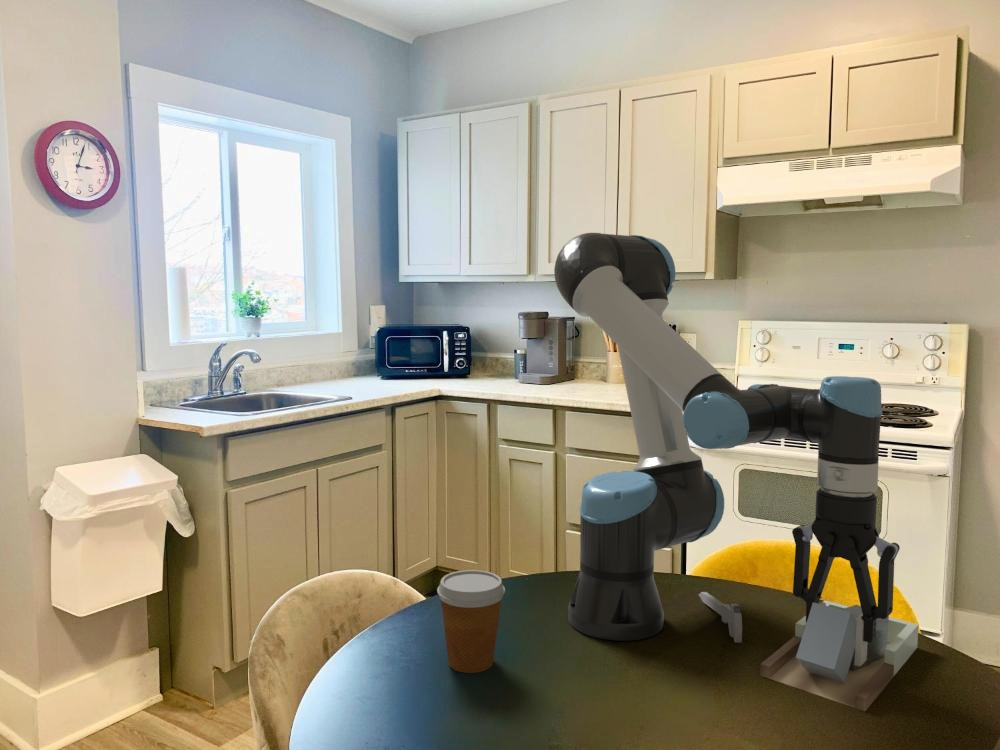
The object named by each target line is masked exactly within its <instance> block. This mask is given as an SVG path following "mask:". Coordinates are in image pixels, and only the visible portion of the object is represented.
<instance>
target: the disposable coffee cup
mask: <svg viewBox="0 0 1000 750" xmlns="http://www.w3.org/2000/svg"><path fill="white" fill-rule="evenodd" d="M436 591H437V592H436V593H437V595H438V598H439V599H440V603H441V605H440V606H441V612H442V618H443V619H442V621H443V628H444V636H445V642H446V651H447V658H448V659H447V661H448V665H449V667H450V668H451V669H453V671H457V672H460V673H464V674H465V673H466V674H475V673H477V674H478V673H482V672H484V671H487V670H490V668H491V667H492V666H493V664H494V656H495V651H496V649H495V648H496V643H497V642H496V641H497V636H498V635H497V633H498V628H499V620H500V612H501V605H502V604H501V603H502V598H503V597H504V594H505V592H506V588H505V586H504V585H503V581H502V578H501V577H500V576H499V575H498V574H495V573H493V572H489V571H485V570H479V569H478V570H477V569H467V570H466V569H465V570H457V571H453V572H450V573H448V574H445V575H444V576H443V577H442V578H441V579H440V582H439V585H438V587H437V588H436Z"/></svg>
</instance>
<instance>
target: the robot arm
mask: <svg viewBox="0 0 1000 750" xmlns="http://www.w3.org/2000/svg"><path fill="white" fill-rule="evenodd" d="M553 270H554V271H553V272H554V281H555V285H556V287H557V289H558V291H559V293H560V295H561V296H562V298H563V299H564V300H565V302H566V303H567V304H568V305H569V306H570V308H571V309H573V311H574V312H576V314H577V315H579V316H581V317H584V318H585V317H586V318H587V317H588V318H590V319H591V320H592V321H593V322H594V323H595V324H596V326H598V327H599V328H600V329H601V330H602V331H603V332H604V333H605V334H606V335H607V336H608V337H609V338H610V339H611V340H612V341H613V342H614V343H615V344H616V345H617V349H618V354H619V358H620V359H619V360H620V365H621V369H622V374H623V380H624V384H625V389H626V394H627V399H628V406H629V410H630V415H631V420H632V425H633V429H634V434H635V440H636V445H637V451H638V454H639V460H638V462H637V463H636V464H635V465H634V467H633V469H632V470H621V471H619V472H617V471H610V472H607V473H601V474H599V475H596V476H593V477H591V478H590V479H588V480H587V481H586V482H585V484H584V485H583V487H582V490H581V491H582V492H581V502H580V506H579V514H580V522H579V523H580V524H579V525H580V527H579V528H580V529H579V530H580V533H579V534H580V537H579V538H580V539H579V541H580V546H579V547H580V551H579V555H580V557H579V561H580V563H579V564H580V565H579V573H578V577H577V580H576V583H575V585H574V588H573V591H572V593H571V596H570V600H569V603H568V609H567V611H568V612H567V613H568V617H567V618H568V622H569V624H570V625H571V627H573V628H574V629H575V630H577V631H578V632H580V633H582V634H585V635H586V636H590V637H594V638H598V639H602V640H609V641H618V642H621V641H622V642H625V641H626V642H628V641H638V640H643V639H648V638H651V637H653V636H655V635H658V634H659V633H660V632H661V631H662V629H663V627H664V619H665V617H664V615H665V613H664V607H663V605H662V603H661V602H662V601H661V598H660V594H659V591H658V588H657V584H656V581H655V578H654V570H655V569H654V566H655V565H654V563H655V551H658V550H662V549H667V548H670V547H673V546H677V545H680V544H681V545H682V544H684V543H685V544H686V543H693V542H696V541H698V540H699V539H701V538H704V537H708V536H709V535H710V534H712V533H713V532H714V531H715V530H716V529H717V528H718V526H719V524H720V522H722V518H723V517H724V513H725V512H724V511H725V496H724V492H723V488H722V486H721V484H720V482H719V481H718V479H716V478H714V476H713V474H712V473H711V472H709V471H708V470H704V464H703V460H702V457H701V456H700V455H698V454H697V453H695V452H694V451H692V449H691V447H690V442H689V440H691V442H692V443H693V444H695V445H696V446H697V447H700V448H701V449H702V448H703V449H706V450H715V449H716V450H717V449H720V450H721V449H722V450H724V449H732V448H735V447H738V446H743V445H750V444H755V443H764V442H770V441H774V440H775V441H776V440H782V439H783V440H784V439H787V440H795V441H802V442H803V441H804V442H809V443H817V449H818V453H817V454H818V455H817V475H816V476H817V477H816V479H817V480H816V485H818V486H819V487H820V488H819V489H818V490H817V491H816V493H815V497H816V498H815V517H814V520H813V522H812V523H811V525H804V524H800V525H798V526H796V527H794V528H792V530H791V532H792V533H791V534H792V536H793V539H794V544H795V549H794V550H795V551H794V565H793V566H794V568H793V583H792V594H793V596H794V597H795V598H801V600H803V601H804V602H805V606H806V608H805V616H806V623H807V620H808V617H809V613H810V610H811V607H812V604H813V602H814V603H818V604H821V605H825V606H826V603H824V602H823V601H820V600H821V599H822V598H823V597H822V594H823V592H824V589H825V586H826V582H827V580H828V577H829V573H830V571H831V568H832V565H833V562H834V560H835V559H836V558H841V559H843V560H845V561H848V562H849V566H850V568H851V569H852V572H853V577H854V581H855V587H856V591H857V595H858V600H859V606H861V609H862V614H861V615H860V616H859V617H857V620H856V641H855V661H854V665H856V666H859V667H860V666H861V665H862V664H863V663H864V662H865V661H866V660H867V644H868V642H869V643H871V642H872V641H873V640H874V639H875V637H876V620H877V619H878V618H881V619H886V618H887V617H888V616H889V617H890V615H891V614H892V613H893V610H894V607H893V606H894V583H895V579H894V578H895V561H896V558H897V556H898V553H899V552H900V545H899V544H898V543H897V542H892V543H891V542H889V541H887V540H885V539H883V538H881V537H880V535H879V533H878V530H877V528H876V527H877V526H876V522H877V505H878V504H877V503H878V497H877V495H876V494H875V493H874V492H876V491H878V485H879V483H878V482H879V480H878V479H879V460H880V459H879V458H880V457H879V452H880V451H879V450H880V437H881V423H882V422H881V421H882V416H883V410H882V386H881V383H879V382H878V381H877V380H876V379H874V378H870V377H861V376H842V375H841V376H840V375H838V376H837V375H836V376H835V375H833V376H826V377H824V378H823V379H822V380H821V383H820V387H819V388H818V389H817V388H805V387H794V386H785V385H779V384H775V383H769V384H768V383H767V384H762V383H761V384H760V383H758V384H752V385H750V386H749V387H748V388H747V389H740V388H738V387H737V386H736V385H734V384H733V383H732V382H731V381H729V380H730V379H729V380H728V378H726V377H725V376H724V375H723V374H722V373H721V372H720V371H719V370H717V369H716V368H715V367H714V365H712V364H711V363H710V362H709V361H708V360H707V359H705V357H704V356H702V354H701V353H699V351H697V350H696V349H695V348H694V347H693V346H692V345H690V343H689V342H687V341H686V339H684V338H683V337H682V335H680V334H679V333H678V332H676V330H675V329H673V327H671V326H670V325H669V324H668V323H667V322H666V321H665V320H664V318H663V317H664V316H663V314H664V311H665V310H666V309H667V307H668V306H669V303H670V302H669V299H668V296H669V294H670V293H671V291H672V289H673V287H674V286H673V285H672V284H673V283H674V282H675V281H676V266H675V261H674V259H673V256H672V254H671V252H670V251H669V250H668V249H667V247H666V246H665V245H664V244H662V242H659V241H658V240H656V239H654V238H650V237H646V236H642V235H636V234H634V235H633V234H631V235H626V234H625V235H622V234H610V233H601V232H585V233H581V234H579V235H576V236H575V237H574V236H573V238H571V239H570V240H568V241H567V242H566V243H565V244H564V245H563V247H561V249H560V251H559V252H558V254H557V256H556V259H555V263H554V269H553ZM813 535H814V536H813ZM813 537H815V538H816V540H817V542H818V543H819V545H820V546H821V549H820V551H819V554H818V555H819V556H818V561H817V563H816V567H815V570H814V572H813V576H812V578H811V582H810V585H809V577H810V576H809V574H810V560H811V559H810V558H811V540H813ZM873 547H876V549H877V550H876V554H877V556H878V557H880V559H879V561H878V577H877V580H878V584H877V586H878V587H877V600H876V596H875V592H874V587H873V583H872V577H871V573H870V569H869V558H868V552H870V550H871V549H873Z"/></svg>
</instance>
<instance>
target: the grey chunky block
mask: <svg viewBox="0 0 1000 750" xmlns="http://www.w3.org/2000/svg"><path fill="white" fill-rule="evenodd" d="M841 610H845V611H849V612H851V613H852V615H854V616H857V617H859V616H860V615H861V614H862V609H861V605H860V604H854V605H851V606H849V607H847V608H844V609H841ZM889 617H890V615H889V616H888V617H887V618H886V619H881V618H878V619H877V620H876V637H875V639H874V640H873V641H872V652H871V663H873V662H875V661H878V660H880V659H883V658H885V649H886V648H887V639H888V622H889Z"/></svg>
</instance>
